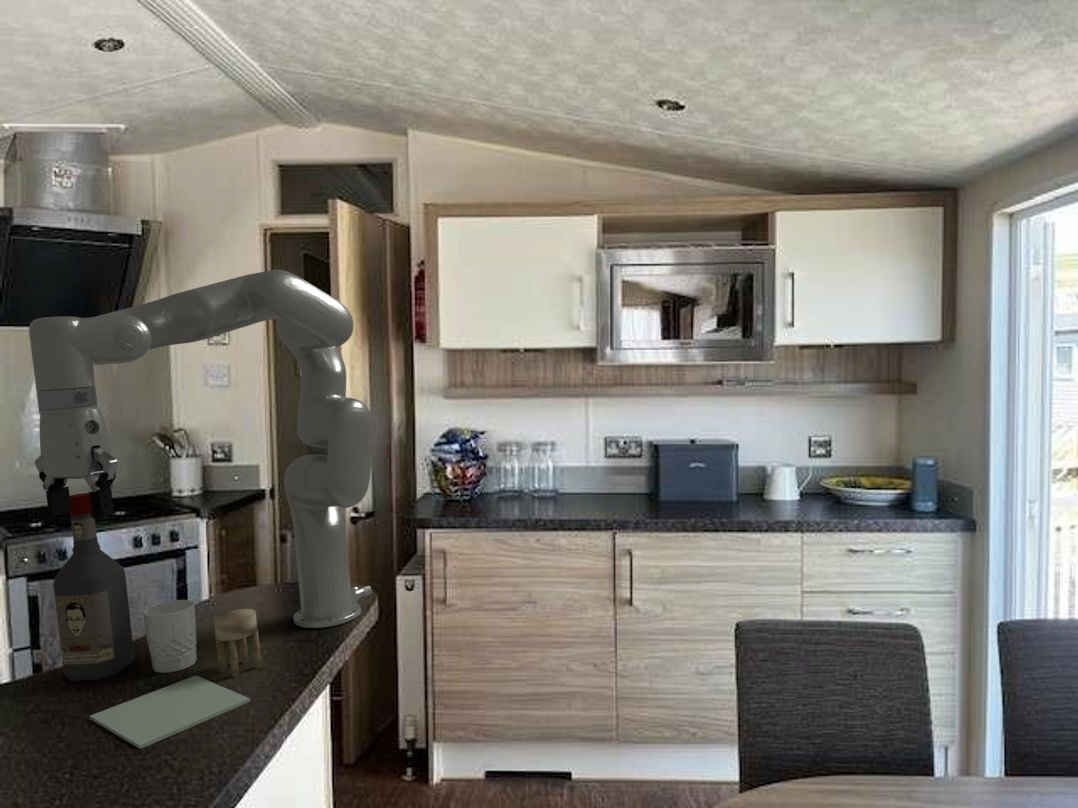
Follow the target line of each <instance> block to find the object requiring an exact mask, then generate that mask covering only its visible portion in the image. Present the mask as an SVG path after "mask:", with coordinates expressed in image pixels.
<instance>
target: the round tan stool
mask: <svg viewBox="0 0 1078 808" xmlns="http://www.w3.org/2000/svg"><path fill="white" fill-rule="evenodd" d="M213 625H214V634H215V646H216V655H217V666H218V672H219V673H225V672H226V671H227V666H226V655H225V653H226V652H225V646H224V645H225V644H224V642H228V652H229V661H230V662H229V663H230V671H231V678H237V677H239V676H240V670H239V661H238V650H237V649H238V648H237V640H238V642H239V651H240V652H239V653H240V661H241V664H248V663H249V655H248V653H249V652H248V644H247V638H248V637H251V644H252V645H251V646H252V647H251V648H252V654H253V655H252V656H253V667H254V669H261V668H262V658H261V647H260V646H261V645H260V639H259V638H260V637H259V630H258V621H257V613H256V610H255V609H252V608H238V609H237V608H236V609H232V610H228V611H225V612H224V611H223V613H220V614H218V615H216V616H215V617H214V618H213Z"/></svg>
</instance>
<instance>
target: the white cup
mask: <svg viewBox="0 0 1078 808" xmlns="http://www.w3.org/2000/svg"><path fill="white" fill-rule="evenodd" d="M195 604H196V603H195V602H194V600H190V599H176V600H174V599H173V600H170V601H164V602H160V603H157V604H153V605H150V606H149V607H147V608H146V609H144V610H143V611H142V616H143V621H144V628H145V634H146V641H147V644H148V650H149V654H150V658H151V666H152V670H153V671H154V672H155V673H162V674H164V673H165V674H166V673H174V672H178V671H182V670H184V669H187V668H190V667H191V666H192V665H195V664H196V662H197V660H198V659H197V658H198V656H197V626H196V624H197V623H196V609H195V608H196V606H195Z"/></svg>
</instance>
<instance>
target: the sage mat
mask: <svg viewBox="0 0 1078 808" xmlns="http://www.w3.org/2000/svg"><path fill="white" fill-rule="evenodd" d="M248 703H251V699H250V697H248V696H245V695H243V694H240V693H238V692H236V691H234V690H231V689H229V688H226V687H223V686H221V685H219V684H217V683H214V682H212V681H210V680H207V679H205V678H202V677H200V676H198V675H194V676H191V677H188V678H185V679H182V680H180V681H177V682H176V683H173V684H170V685H167V686H165V687H162V688H159V689H157V690H154V691H151V692H148V693H147V694H143V695H140V696H138V697H136V698H135V697H134V698H133V699H130V700H128V701H125V702H122V703H120V704H117V705H115V706H112V707H109V708H107V709H105V710H102V711H100V712H96V713H93V714H91V715H89V720H91V721H92V722H94V723H96V724H97V725H99V726H101V727H103V728H105V729H106V730H107V731H110V733H113V734H114V735H116V736H118V737H120V739H122V740H124V741H126V742H128V743H129V744H131V745H132V746H134V747H136V748H137V749H139V750H140V749H143V748H146V747H148V746H150V745H152V744H155V743H157V742H160V741H162V740H164V739H166V738H169V737H171V736H174V735H176V734H178V733H181V732H183V731H185V730H188V729H190V728H192V727H194V726H197V725H199V724H202V723H204V722H206V721H209V720H211V719H213V718H216V717H217V716H220V715H223V714H224V713H227V712H230V711H232V710H234V709H236V708H239V707H240V706H243V705H246V704H248Z"/></svg>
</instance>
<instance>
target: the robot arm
mask: <svg viewBox="0 0 1078 808" xmlns="http://www.w3.org/2000/svg"><path fill="white" fill-rule="evenodd" d="M271 320H276V323H275V327H276V328H275V329H276V333H277V336H278V337H279V339H280V341H281V342H282V344H284V345H285V347H287V349H289V351H290V352H291V353H292V355H293V356H294V357H295V359H296V361H297V363H298V366H299V370H300V390H299V398H298V410H297V412H298V413H297V419H296V420H297V423H296V432H297V436H298V438H299V439H300V441H301V442H302V443H304V444H305V445H308V446H310V447H315V448H322V449H323V448H324V449H327V454H317V453H316V454H305V455H301V456H299V457H297V458H296V459H294V460H293V461H292V462H291V463H290V464H289V465H288V466H287V468H286V470H285V473H284V478H283V485H284V492H285V496H286V500H287V502H288V507H289V509H290V515H291V519H292V527H293V535H294V536H293V537H294V548H295V556H296V557H295V558H296V568H297V569H296V570H297V579H298V589H299V599H300V608H301V609H298V610H297V612H295V613H294V615H292V616H293V617H292V618H293V623H294V625H296V626H298V627H300V628H306V629H307V628H308V629H319V628H320V629H321V628H329V627H334V626H339V625H342V624H345V623H347V622H348V623H349V622H351V621H353V620H355V619H356V618H357V617H359V616H360V615H361V613H362V607H361V604H359V603H358V601H360V599H361V598H364V597H368V596H370V595H371V594H372V593H373V591H372V588H371V586H370V585H369V584H368V585H365V586H362V587H359V588H358V587H357V586H353V587H351V578H350V566H349V565H350V564H349V556H348V555H349V554H348V542H347V530H346V522H345V518H344V514H343V511H342V510H341V509H348V508H352V507H354V506H356V505H359V503H361V501H363V499H364V498H365V496H366V494H367V492H368V488H369V486H370V479H371V478H370V477H371V471H372V462H373V448H374V435H375V426H374V419H373V416H372V413H371V410H370V409H369V407H368V406H367V405H366V404H365V403H364V402H363V401H361V400H359V399H357V398H354V397H347V370H346V364H345V361H344V359H343V357H342V355H341V353H340V351H339V350H338V348H337V347H340V346H342V345H344V344H346V342H348V341H350V340H349V339H351V336H352V334H353V332H354V319H353V316H352V314H351V312H350V310H349V309H348V308H347V307H346V306H345V305H344V304H343V303H342V302H340V301H339V300H337V298H335V297H333V296H331V295H330V294H328V293H326V292H325V291H323V290H322V289H320V288H318V287H317V286H315V285H314V284H312V283H310V282H308V281H307V280H305V279H303V278H302V277H300V276H298V275H296V274H294V273H292V272H289V271H287V270H285V269H284V270H283V269H271V270H265V271H260V272H256V273H250V274H245V275H241V276H237V277H235V278H233V277H232V278H231V279H230V278H229V279H226V280H222V281H219V282H214V283H211V284H207V285H203V286H200V287H196V288H191V289H187V290H185V291H181V292H177V293H173V294H171V295H168V296H165V297H162V298H160V299H156V300H153V301H152V300H151V301H149V302H146V303H142V304H139V305H138V304H137V305H135V306H132V307H127V308H126V307H125V308H124V309H123V308H122V309H118V310H114V311H112V312H108V313H105V314H99V315H97V316H91V317H79V316H71V315H70V316H48V317H39V318H36V319H33V320H32V321H31V322H30V324H29V328H28V332H29V333H28V334H29V335H28V336H29V342H30V351H31V359H32V360H31V361H32V367H33V374H34V383H35V390H36V397H37V398H36V400H37V407H38V408H37V409H38V414H39V447H40V451H39V452H40V455H39V457H37V458H36V459H35V460H34V465H35V467H36V469H37V471H38V478H39V479H40V481H42V488H43V490H44V491H45V494H46V503H47V510H48V511H47V512H48V516H49V517H52V518H54V517H58V516H62V515H66V514H67V515H68V514H69V513H70V512H71V502H70V496H71V495H70V487H69V486H66V485H67V483H68V480H69V479H71V480H74V479H75V480H78V479H79V480H81V479H84V481H85V482H86V483H87V485H88V486H89V488H90V489H91V491H88V493H89V500H90V509H91V517H92V518H93V519H95V520H98V519H102V518H107V517H109V516H113V515H114V514H115V510H114V509H115V508H114V501H113V492H112V489H113V488H114V485H115V484H114V481H115V479H116V477H117V474H116V473H117V472H116V471H117V469H118V464H119V463H118V462H119V461H118V459H117V458H116V457H115V456H113V455H112V451H111V446H110V445H111V444H110V439H109V433H108V430H107V427H106V422H105V419H104V416H103V413H102V410H101V408H99V406H98V405H99V404H98V398H97V397H98V396H97V388H96V380H95V371H94V366H103V365H114V364H115V365H117V364H126V363H131V362H134V361H137V360H139V359H141V358H142V357H144V356H145V355H146V354H147V353H148V351H150V350H153V349H154V350H155V349H157V348H161V347H162V348H163V347H166V346H167V347H168V346H173V345H174V346H175V345H182V344H190V343H194V342H195V343H196V342H200V341H204V340H208V339H212V338H213V337H218V336H220V335H223V334H226V333H229V332H232V331H236V330H238V329H243V328H246V327H248V326H251V325H254V324H255V325H256V324H259V323H262V322H265V321H271ZM96 478H98V479H97V480H96Z"/></svg>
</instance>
